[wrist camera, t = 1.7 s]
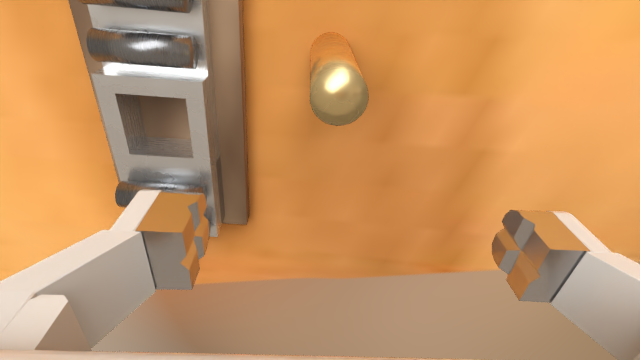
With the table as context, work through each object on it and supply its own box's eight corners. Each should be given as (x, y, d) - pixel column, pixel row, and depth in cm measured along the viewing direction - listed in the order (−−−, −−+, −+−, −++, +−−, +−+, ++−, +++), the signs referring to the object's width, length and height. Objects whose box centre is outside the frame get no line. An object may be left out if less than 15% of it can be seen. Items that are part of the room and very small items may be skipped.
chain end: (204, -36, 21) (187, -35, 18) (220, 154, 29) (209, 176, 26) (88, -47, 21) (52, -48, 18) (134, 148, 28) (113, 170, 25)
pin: (352, 34, 25) (373, 71, 17) (347, 74, 27) (363, 127, 18) (312, 30, 25) (312, 66, 17) (309, 72, 27) (307, 123, 18)
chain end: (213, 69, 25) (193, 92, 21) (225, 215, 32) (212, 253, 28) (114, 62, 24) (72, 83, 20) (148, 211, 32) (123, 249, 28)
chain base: (240, -51, 22) (236, -52, 21) (249, 214, 34) (246, 224, 33) (64, -69, 22) (49, -71, 20) (135, 208, 33) (128, 218, 32)
